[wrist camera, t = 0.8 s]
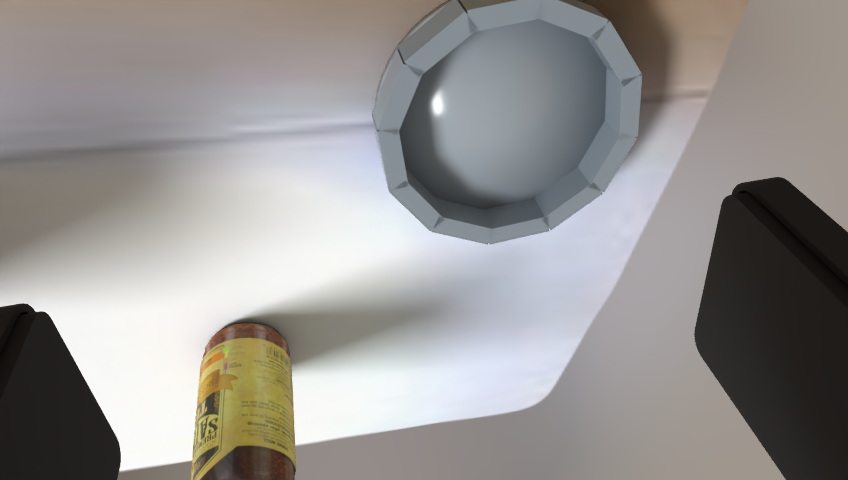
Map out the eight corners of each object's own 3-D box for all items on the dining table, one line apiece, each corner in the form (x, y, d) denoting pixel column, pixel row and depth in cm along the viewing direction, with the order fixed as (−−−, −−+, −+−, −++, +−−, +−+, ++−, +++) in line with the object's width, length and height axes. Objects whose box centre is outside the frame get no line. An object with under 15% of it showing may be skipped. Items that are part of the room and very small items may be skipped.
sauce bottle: (203, 316, 48) (175, 607, 32) (295, 319, 49) (310, 596, 34) (200, 381, 51) (174, 671, 36) (286, 382, 53) (296, 658, 37)
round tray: (351, 12, 37) (357, 32, 35) (625, -43, 38) (649, -27, 36) (396, 236, 46) (403, 263, 44) (614, 187, 47) (632, 212, 45)
